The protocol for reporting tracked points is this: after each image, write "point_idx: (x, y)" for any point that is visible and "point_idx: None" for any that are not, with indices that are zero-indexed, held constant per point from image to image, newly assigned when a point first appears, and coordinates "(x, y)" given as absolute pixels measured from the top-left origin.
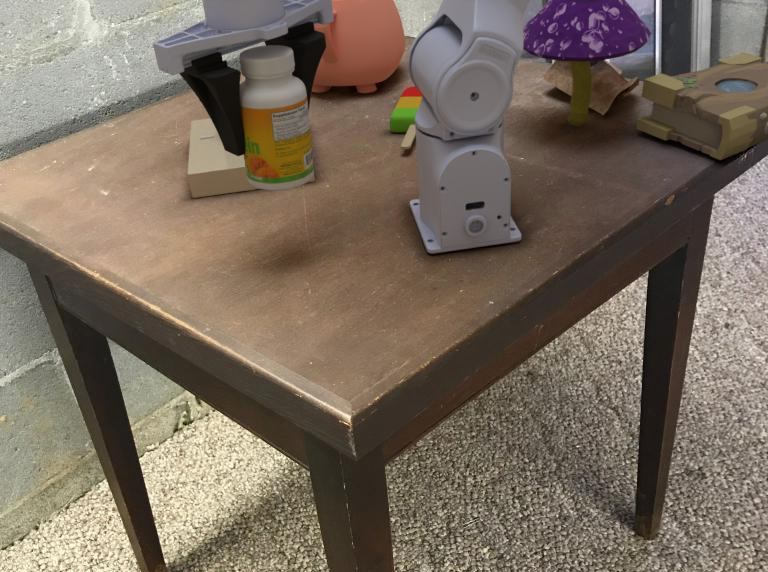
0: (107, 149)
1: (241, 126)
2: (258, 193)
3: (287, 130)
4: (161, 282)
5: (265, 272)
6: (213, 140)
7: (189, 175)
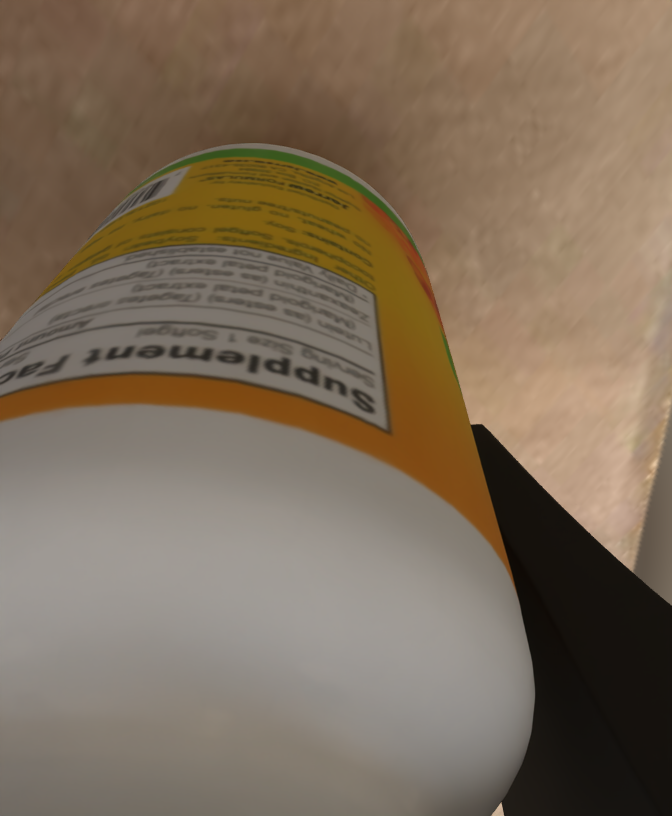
0: None
1: (507, 528)
2: None
3: (256, 285)
4: (606, 337)
5: (394, 169)
6: None
7: None
